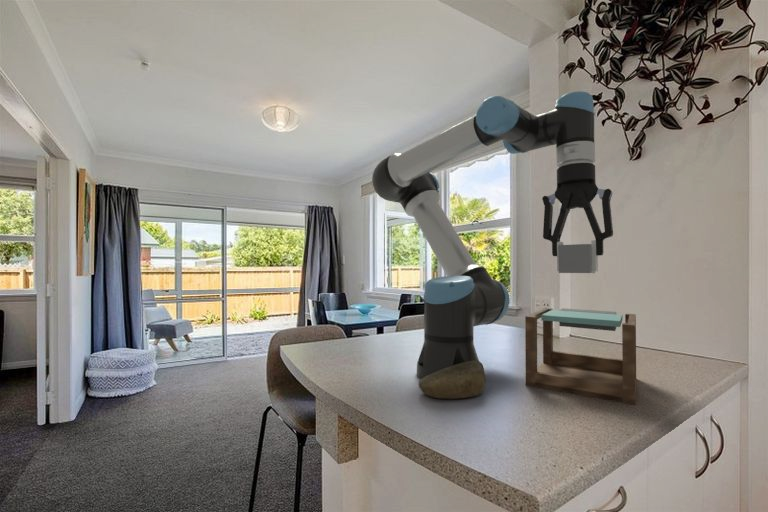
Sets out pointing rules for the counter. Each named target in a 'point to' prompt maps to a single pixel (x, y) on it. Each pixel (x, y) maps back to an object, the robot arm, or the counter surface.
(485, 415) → the counter surface
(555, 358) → the frame
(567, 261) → the gray cube
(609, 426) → the counter surface
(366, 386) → the counter surface
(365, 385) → the counter surface
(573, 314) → the trapdoor
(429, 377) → the stone
